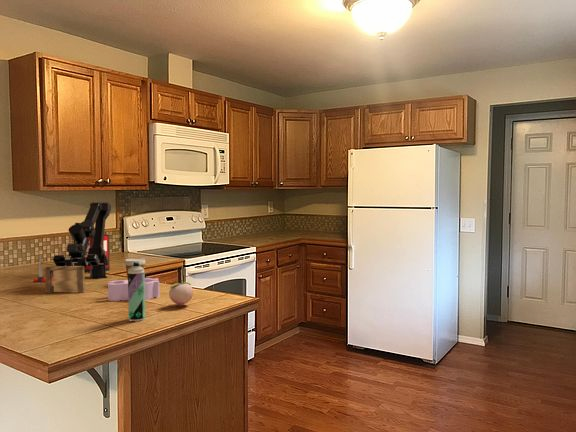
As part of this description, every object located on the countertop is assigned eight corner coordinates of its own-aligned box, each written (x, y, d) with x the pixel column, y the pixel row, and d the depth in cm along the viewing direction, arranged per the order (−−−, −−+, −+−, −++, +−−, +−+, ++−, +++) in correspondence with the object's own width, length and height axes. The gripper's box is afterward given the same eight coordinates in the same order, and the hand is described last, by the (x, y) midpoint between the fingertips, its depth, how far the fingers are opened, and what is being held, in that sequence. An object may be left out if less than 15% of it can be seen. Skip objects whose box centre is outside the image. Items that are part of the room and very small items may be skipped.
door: (51, 291, 202) (51, 270, 202) (53, 290, 204) (53, 269, 204) (77, 291, 203) (77, 269, 202) (79, 290, 205) (79, 268, 205)
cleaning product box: (109, 270, 259) (108, 234, 258) (97, 272, 251) (96, 235, 250) (86, 268, 265) (85, 233, 264) (74, 270, 257) (73, 234, 256)
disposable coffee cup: (150, 283, 222) (149, 258, 221) (136, 287, 213) (135, 261, 213) (134, 282, 226) (134, 257, 225) (120, 285, 217) (119, 260, 217)
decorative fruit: (181, 310, 174) (180, 283, 173) (165, 307, 178) (165, 281, 178) (198, 304, 182) (198, 279, 181) (183, 302, 186) (182, 277, 186)
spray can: (130, 317, 164) (129, 261, 163) (146, 317, 164) (145, 260, 163) (126, 321, 159) (125, 263, 157) (143, 321, 159) (142, 263, 158)
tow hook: (44, 279, 235) (31, 282, 226) (44, 253, 235) (31, 255, 226) (59, 280, 234) (47, 282, 225) (59, 254, 234) (47, 256, 225)
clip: (107, 303, 185) (107, 285, 185) (109, 296, 197) (108, 280, 197) (159, 299, 192) (159, 282, 191) (158, 293, 203) (158, 277, 203)
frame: (45, 293, 202) (44, 267, 201) (47, 292, 204) (47, 266, 203) (83, 292, 202) (82, 266, 202) (84, 291, 204) (84, 266, 204)
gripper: (53, 237, 207) (43, 266, 197) (96, 236, 209) (88, 265, 198) (61, 252, 216) (52, 280, 205) (102, 251, 217) (95, 279, 207)
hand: (71, 276), depth 204 cm, fingers closed on door, 2 cm apart
